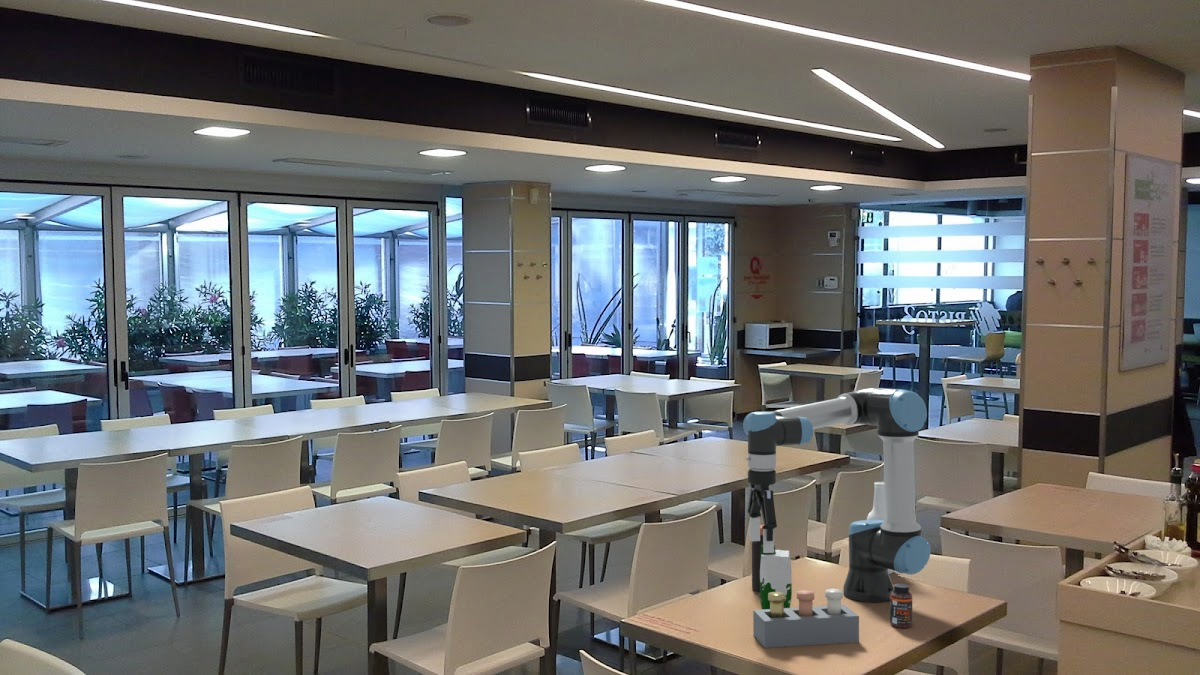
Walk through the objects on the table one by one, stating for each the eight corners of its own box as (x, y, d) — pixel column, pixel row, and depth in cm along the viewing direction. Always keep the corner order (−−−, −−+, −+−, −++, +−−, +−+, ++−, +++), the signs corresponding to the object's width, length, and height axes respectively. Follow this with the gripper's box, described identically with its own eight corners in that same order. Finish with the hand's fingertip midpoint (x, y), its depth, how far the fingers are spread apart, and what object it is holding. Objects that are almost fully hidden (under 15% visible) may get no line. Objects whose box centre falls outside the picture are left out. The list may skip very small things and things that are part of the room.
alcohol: (878, 576, 331) (878, 486, 330) (861, 570, 339) (861, 481, 338) (899, 573, 334) (899, 483, 334) (881, 567, 342) (881, 479, 341)
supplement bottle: (896, 629, 277) (896, 588, 277) (886, 622, 283) (886, 583, 283) (916, 628, 278) (916, 587, 278) (905, 621, 284) (905, 581, 284)
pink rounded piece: (810, 616, 273) (810, 589, 272) (816, 621, 268) (816, 594, 268) (794, 617, 272) (794, 590, 272) (800, 622, 267) (800, 595, 267)
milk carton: (760, 608, 297) (760, 541, 296) (791, 610, 295) (791, 542, 295) (759, 618, 288) (759, 548, 288) (791, 619, 287) (791, 550, 286)
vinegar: (751, 591, 315) (750, 528, 314) (752, 586, 321) (752, 523, 321) (773, 593, 313) (772, 529, 312) (774, 587, 320) (773, 524, 319)
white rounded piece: (838, 614, 274) (838, 588, 274) (845, 620, 269) (845, 593, 269) (822, 615, 273) (822, 589, 273) (829, 621, 269) (828, 593, 268)
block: (844, 629, 277) (844, 604, 277) (859, 641, 267) (859, 615, 267) (753, 635, 273) (753, 610, 273) (764, 647, 263) (764, 621, 263)
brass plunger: (782, 618, 271) (782, 591, 271) (788, 623, 267) (787, 596, 267) (766, 619, 271) (765, 592, 271) (771, 624, 266) (771, 597, 266)
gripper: (736, 462, 285) (736, 536, 285) (760, 476, 260) (760, 558, 260) (762, 461, 285) (762, 535, 286) (788, 476, 261) (788, 557, 261)
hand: (761, 546), depth 273 cm, fingers open, 13 cm apart
